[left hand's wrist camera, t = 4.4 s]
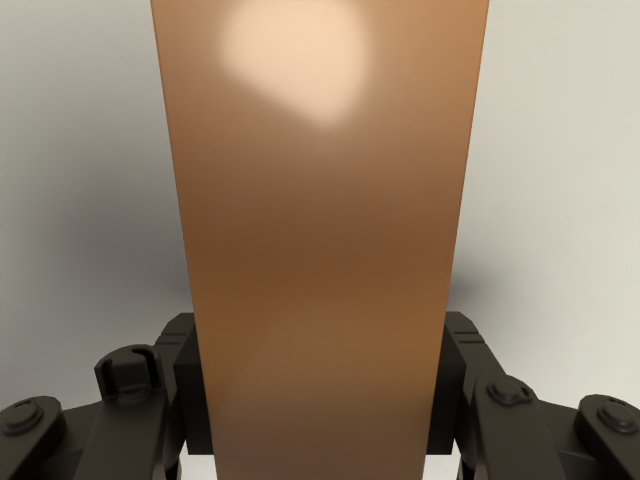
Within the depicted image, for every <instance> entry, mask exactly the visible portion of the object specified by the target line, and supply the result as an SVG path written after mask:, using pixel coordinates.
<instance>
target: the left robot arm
mask: <svg viewBox="0 0 640 480" xmlns="http://www.w3.org/2000/svg"><path fill="white" fill-rule="evenodd" d="M94 370H95V374H96V378H97V382H98V385H99V389H100V393H101V397H102V400H101V401H100V402H97V403H93V404H90V405H85V406H81V407H77V408H73V409H68V410H64V411H63V410H62V407H61V404H60V402H59V401H58V400H57V399H56V398H54V397H49V396H39V397H32V398H28V399H25V400H23V401H20V402H17V403H15V404H13V405H11V406H9V407H8V408H6V409H4V410H2V411H1V412H0V480H181V472H182V470H181V463H180V458H179V455H180V452H181V450H182V447H183V444H184V442H185V439H186V444H187V449H188V455H214V452H213V444H212V437H211V430H210V423H209V416H208V409H207V402H206V395H205V387H204V380H203V373H202V366H201V359H200V352H199V345H198V337H197V330H196V323H195V316H194V313H180V314H179V315H178V316H176V317H175V318H173V319H172V320H171V321H169V322H168V324H167V325H166V327H165V328H164V330H163V331H162V333H161V336H159V337H158V339H157V341H156V342H155V345H153V346H150V345H146V344H138V345H130V346H126V347H122V348H119V349H117V350H115V351H113V352H111V353H109V354H108V355H106V356H105V357H104V358H102V359H101V360H100V361H99V362H98V363H97V365H96V366H95V368H94ZM454 438H455V441H456V443H457V446H458V448H459V451H460V454H461V458H460V463H459V468H458V474H457V479H456V480H640V410H639V409H638V408H636V407H634V406H632V405H630V404H628V403H627V402H625V401H622V400H619V399H617V398H614V397H611V396H606V395H599V394H594V395H588V396H585V397H584V398H583V399H582V400H580V403H579V406H578V409H574V408H570V407H566V406H561V405H557V404H553V403H549V402H545V401H542V400H539V399H538V398H537V396H536V394H535V393H534V391H533V390H532V389H531V388H530V387H529V386H527V385H526V384H525V383H524V382H522V381H520V380H518V379H516V378H514V377H513V376H509V375H506V373H505V372H504V370H503V369H502V367H501V365H500V364H499V362H498V361H497V359H496V358H495V356H494V355H493V353H492V352H491V350H490V349H489V347H488V345H487V344H485V341H484V339H483V338H482V336H481V335H480V334H479V332H478V330H477V329H476V327H475V325H474V324H473V322H472V321H471V320H469V319H468V318H467V317H465V316H464V315H463V314H461V313H460V312H446V314H445V321H444V328H443V335H442V342H441V350H440V357H439V364H438V371H437V378H436V385H435V392H434V400H433V407H432V414H431V421H430V428H429V435H428V442H427V450H426V455H451V454H452V448H453V442H454Z"/></svg>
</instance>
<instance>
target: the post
mask: <svg viewBox="0 0 640 480" xmlns="http://www.w3.org/2000/svg"><path fill="white" fill-rule="evenodd" d="M150 2H151V9H152V16H153V23H154V31H155V38H156V45H157V52H158V59H159V66H160V73H161V81H162V88H163V95H164V102H165V109H166V116H167V123H168V131H169V138H170V145H171V152H172V159H173V166H174V173H175V180H176V188H177V195H178V202H179V209H180V216H181V223H182V230H183V238H184V245H185V252H186V259H187V266H188V273H189V280H190V288H191V295H192V302H193V309H194V316H195V323H196V330H197V337H198V345H199V352H200V359H201V366H202V373H203V380H204V387H205V395H206V402H207V409H208V416H209V423H210V430H211V437H212V444H213V452H214V459H215V466H216V473H217V480H422V478H423V471H424V464H425V457H426V450H427V442H428V435H429V428H430V421H431V414H432V407H433V400H434V392H435V385H436V378H437V371H438V364H439V357H440V350H441V342H442V335H443V328H444V321H445V314H446V307H447V299H448V292H449V285H450V278H451V271H452V264H453V257H454V249H455V242H456V235H457V228H458V221H459V214H460V207H461V199H462V192H463V185H464V178H465V171H466V164H467V157H468V149H469V142H470V135H471V128H472V121H473V114H474V107H475V99H476V92H477V85H478V78H479V71H480V64H481V57H482V49H483V42H484V35H485V28H486V21H487V14H488V6H489V0H150Z"/></svg>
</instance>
